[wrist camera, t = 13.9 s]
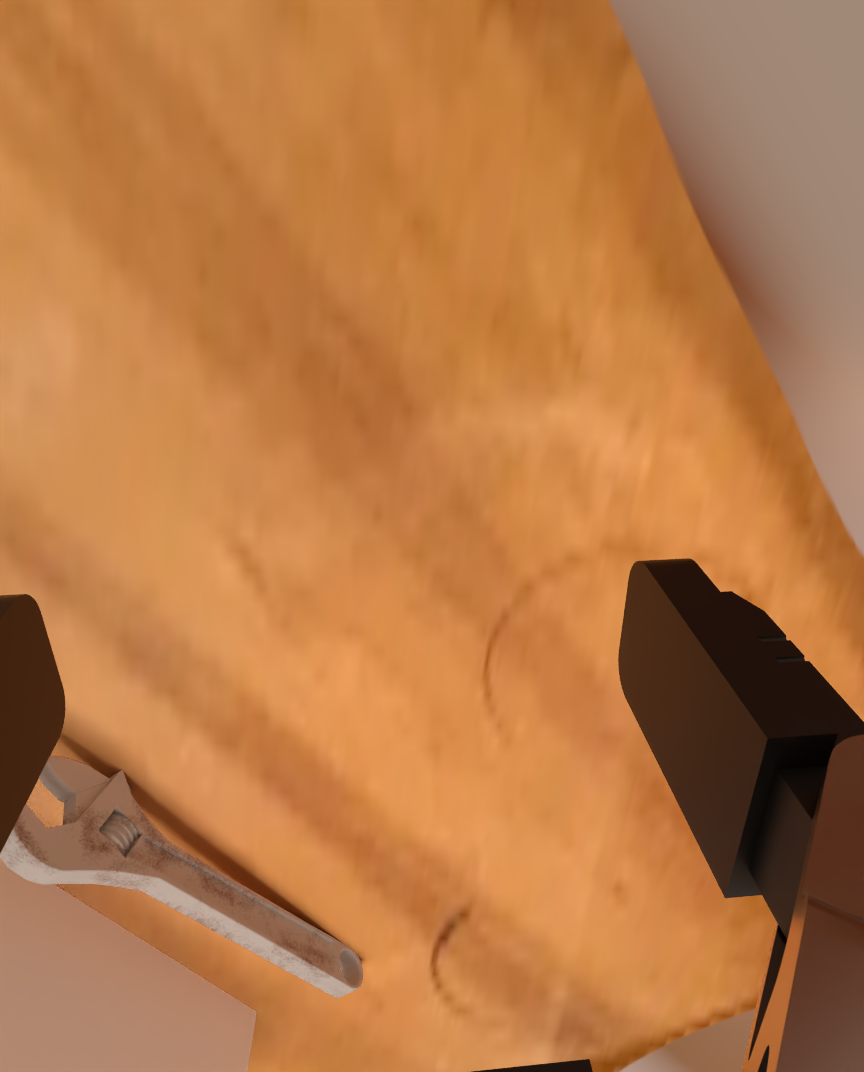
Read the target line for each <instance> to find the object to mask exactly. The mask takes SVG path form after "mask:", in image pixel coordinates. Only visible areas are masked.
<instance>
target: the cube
mask: <svg viewBox="0 0 864 1072" xmlns="http://www.w3.org/2000/svg"><path fill="white" fill-rule="evenodd" d="M256 1015H257V1012H256V1011H255V1010H253V1009H251V1008H250V1007H248V1006H247V1005H245V1004H244V1003H242V1002H240V1001H239V1000H237V999H236V998H234V997H232V996H231V995H229V994H228V993H226V992H224V991H223V990H221V989H220V988H218V987H216V986H215V985H213V984H212V983H210V982H209V981H207V980H205V979H204V978H202V977H201V976H199V975H197V974H196V973H194V972H193V971H191V970H189V969H188V968H186V967H185V966H183V965H181V964H180V963H178V962H177V961H175V960H173V959H172V958H170V957H169V956H167V955H166V954H164V953H162V952H161V951H159V950H158V949H156V948H154V947H153V946H151V945H150V944H148V943H146V942H145V941H143V940H142V939H140V938H138V937H137V936H135V935H134V934H132V933H131V932H129V931H127V930H126V929H124V928H123V927H121V926H119V925H118V924H116V923H115V922H113V921H111V920H110V919H108V918H107V917H105V916H103V915H102V914H100V913H99V912H97V911H95V910H94V909H92V908H91V907H89V906H88V905H86V904H84V903H83V902H81V901H80V900H78V899H76V898H75V897H73V896H72V895H70V894H68V893H67V892H65V891H64V890H62V889H60V888H59V887H57V886H56V885H54V884H48V885H43V884H37V883H34V882H31V881H28V880H26V879H24V878H23V877H21V876H20V875H18V874H17V873H15V872H14V871H12V870H11V869H9V868H8V867H7V866H6V864H5V863H4V862H3V860H2V859H1V857H0V1072H248V1066H249V1060H250V1053H251V1047H252V1041H253V1034H254V1028H255V1021H256Z"/></svg>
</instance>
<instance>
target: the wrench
mask: <svg viewBox="0 0 864 1072" xmlns="http://www.w3.org/2000/svg"><path fill="white" fill-rule="evenodd" d="M39 779H40V780H41V782H42V783H43V785H44V786H45V787H46V788H47V789H48V790H49V791H50V792H51V793H52V794H53V795H54V796H55V797H56V798H57V799H58V800H60V801H61V802H64V815H63V825H61V826H56V827H51V828H46V827H45V825H44V824H43V823H42V822H41V821H40V820H39V819H38V817H37V816H36V815H35V814H34V813H33V812H32V810H31V809H30V808H29V807H28V806H27V805H26V804H25V806H24V808H23V810H22V812H21V814H20V816H19V818H18V820H17V822H16V824H15V826H14V828H13V830H12V832H11V834H10V836H9V838H8V840H7V842H6V844H5V846H4V847H3V849H2V851H1V853H0V857H1V859H2V860H3V862H4V863H5V864H6V866H7V867H8V868H9V869H11V870H12V871H14V872H15V873H17V874H18V875H20V876H21V877H23V878H24V879H26V880H28V881H31V882H34V883H37V884H43V885H48V884H100V885H107V886H113V887H120V888H127V889H134V890H141V891H142V892H144V893H146V894H148V895H150V896H152V897H153V898H155V899H157V900H159V901H161V902H162V903H164V904H166V905H168V906H170V907H171V908H173V909H175V910H177V911H179V912H181V913H182V914H184V915H186V916H188V917H190V918H191V919H193V920H195V921H197V922H199V923H201V924H202V925H204V926H206V927H208V928H210V929H211V930H213V931H215V932H217V933H219V934H221V935H222V936H224V937H226V938H228V939H230V940H231V941H233V942H235V943H237V944H239V945H241V946H242V947H244V948H246V949H248V950H250V951H251V952H253V953H255V954H257V955H259V956H261V957H262V958H264V959H266V960H268V961H270V962H271V963H273V964H275V965H277V966H279V967H281V968H282V969H284V970H286V971H288V972H290V973H291V974H293V975H295V976H297V977H299V978H300V979H302V980H304V981H306V982H308V983H310V984H311V985H313V986H315V987H317V988H319V989H321V990H322V991H324V992H326V993H328V994H330V995H331V996H333V997H336V998H340V997H343V996H344V995H346V994H348V993H350V992H352V991H354V990H356V989H358V988H359V987H360V986H361V983H362V980H363V969H362V964H361V961H360V959H359V957H358V955H357V954H356V953H355V952H353V951H352V950H351V949H350V948H348V947H347V946H346V945H345V944H343V943H341V942H340V941H338V940H336V939H335V938H333V937H331V936H330V935H328V934H326V933H324V932H322V931H321V930H319V929H317V928H315V927H314V926H312V925H310V924H308V923H306V922H305V921H303V920H301V919H300V918H298V917H296V916H295V915H293V914H291V913H289V912H288V911H286V910H284V909H283V908H281V907H279V906H278V905H276V904H274V903H273V902H271V901H269V900H267V899H266V898H264V897H262V896H261V895H259V894H257V893H255V892H254V891H252V890H250V889H249V888H247V887H245V886H243V885H242V884H240V883H238V882H236V881H235V880H233V879H231V878H230V877H228V876H226V875H224V874H223V873H221V872H219V871H217V870H216V869H214V868H212V867H211V866H209V865H207V864H205V863H204V862H202V861H200V860H199V859H197V858H196V857H194V856H192V855H191V854H189V853H187V852H186V851H184V850H183V849H181V848H179V847H178V846H176V845H175V844H173V843H171V842H170V841H168V840H167V839H166V838H165V837H164V836H163V835H162V834H161V833H160V832H159V831H158V830H157V829H156V828H155V826H154V825H153V824H152V823H151V822H150V821H149V819H148V818H147V817H146V815H145V814H144V812H143V811H142V809H141V808H140V806H139V805H138V803H137V802H136V800H135V799H134V798H133V796H132V795H131V788H130V786H129V785H128V784H127V781H126V778H125V774H124V771H122V770H121V771H119V772H118V773H116V774H114V775H113V776H111V777H110V778H108V777H106V776H104V775H103V774H101V773H100V772H98V771H96V770H95V769H93V768H91V767H90V766H88V765H87V764H85V763H81V762H78V761H75V760H72V759H69V758H65V757H59V756H53V755H50V757H49V759H48V761H47V763H46V765H45V767H44V769H43V771H42V772H41V774H40V776H39ZM340 968H341V969H340ZM341 970H342V972H341ZM342 973H343V975H342Z"/></svg>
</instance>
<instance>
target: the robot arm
mask: <svg viewBox="0 0 864 1072" xmlns="http://www.w3.org/2000/svg"><path fill="white" fill-rule="evenodd" d="M618 661H619V675H620V681H621V685H622V689H623V692H624V695H625V698H626V700H627V702H628V704H629V706H630V708H631V710H632V712H633V714H634V716H635V718H636V720H637V722H638V724H639V726H640V728H641V730H642V732H643V734H644V736H645V738H646V740H647V742H648V744H649V746H650V748H651V750H652V752H653V754H654V756H655V758H656V760H657V762H658V764H659V766H660V768H661V770H662V772H663V774H664V776H665V778H666V780H667V782H668V784H669V786H670V788H671V790H672V792H673V794H674V796H675V798H676V800H677V802H678V804H679V806H680V808H681V810H682V812H683V814H684V816H685V818H686V820H687V822H688V824H689V826H690V828H691V830H692V832H693V834H694V836H695V838H696V840H697V842H698V844H699V846H700V849H701V851H702V853H703V855H704V857H705V859H706V861H707V863H708V865H709V867H710V869H711V871H712V873H713V875H714V877H715V879H716V881H717V883H718V885H719V887H720V889H721V891H722V893H723V895H724V897H725V898H732V897H743V896H754V895H762V896H763V897H764V899H765V901H766V903H767V905H768V906H769V908H770V910H771V912H772V914H773V916H774V917H775V919H776V921H777V923H776V926H775V929H774V933H773V936H772V941H771V945H770V949H769V954H768V958H767V962H766V967H765V971H764V976H763V980H762V984H761V989H760V993H759V998H758V1002H757V1006H756V1011H755V1015H754V1019H753V1024H752V1028H751V1033H750V1037H749V1041H748V1046H747V1050H746V1054H745V1059H744V1063H743V1068H742V1072H864V722H863V721H862V720H861V719H860V717H859V716H858V715H857V714H856V713H855V712H854V711H853V710H852V709H851V707H850V706H849V705H848V704H847V703H846V702H845V701H844V700H843V698H842V697H841V696H840V695H839V694H838V693H837V692H836V691H835V690H834V688H833V687H832V686H831V685H830V684H829V683H828V682H827V681H826V679H825V678H824V677H823V676H822V675H821V674H820V673H819V672H818V671H817V669H816V668H815V667H814V666H813V665H812V664H811V663H810V662H809V661H805V660H804V655H803V654H802V653H801V652H800V650H799V649H798V648H797V647H796V646H795V645H794V644H793V643H792V642H791V640H788V641H787V640H786V635H785V634H784V633H783V631H782V630H781V629H780V628H779V627H778V626H777V625H776V624H775V623H774V621H773V620H772V619H771V618H770V617H769V616H768V615H767V614H766V612H765V611H763V610H762V609H760V608H758V607H757V606H755V605H753V604H752V603H750V602H748V601H747V600H745V599H743V598H742V597H740V596H738V595H737V594H735V593H733V592H732V591H729V592H720V591H719V590H718V588H717V587H716V586H715V585H714V584H713V582H712V581H711V580H710V579H709V578H708V576H707V575H706V574H705V573H704V572H703V570H702V569H701V568H700V567H699V566H698V564H697V563H696V562H695V561H694V560H692V559H688V558H687V559H668V560H649V561H637V562H635V563H634V565H633V566H632V568H631V571H630V575H629V581H628V588H627V595H626V603H625V610H624V618H623V625H622V632H621V640H620V647H619V660H618ZM64 717H65V695H64V690H63V685H62V682H61V679H60V675H59V672H58V669H57V665H56V662H55V659H54V655H53V652H52V648H51V645H50V642H49V638H48V635H47V632H46V628H45V625H44V621H43V618H42V615H41V612H40V609H39V606H38V604H37V602H36V601H35V600H34V598H32V597H31V596H30V595H26V594H21V595H1V596H0V853H1V851H2V849H3V847H4V846H5V844H6V842H7V840H8V838H9V836H10V834H11V832H12V830H13V828H14V826H15V824H16V822H17V820H18V818H19V816H20V814H21V812H22V810H23V808H24V806H25V804H26V802H27V800H28V798H29V796H30V794H31V792H32V790H33V788H34V786H35V784H36V782H37V780H38V778H39V776H40V774H41V772H42V771H43V769H44V767H45V765H46V763H47V761H48V759H49V757H50V755H51V753H52V751H53V749H54V747H55V745H56V743H57V741H58V739H59V737H60V734H61V731H62V728H63V724H64ZM473 1072H593V1071H592V1067H591V1064H590V1060H589V1059H586V1060H577V1061H567V1062H558V1063H549V1064H539V1065H530V1066H520V1067H511V1068H501V1069H492V1070H482V1071H473Z"/></svg>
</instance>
